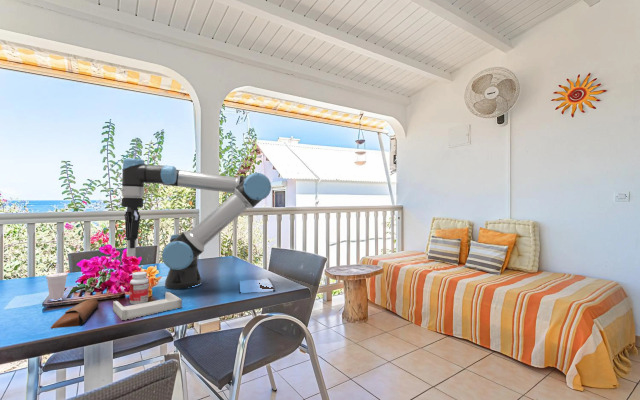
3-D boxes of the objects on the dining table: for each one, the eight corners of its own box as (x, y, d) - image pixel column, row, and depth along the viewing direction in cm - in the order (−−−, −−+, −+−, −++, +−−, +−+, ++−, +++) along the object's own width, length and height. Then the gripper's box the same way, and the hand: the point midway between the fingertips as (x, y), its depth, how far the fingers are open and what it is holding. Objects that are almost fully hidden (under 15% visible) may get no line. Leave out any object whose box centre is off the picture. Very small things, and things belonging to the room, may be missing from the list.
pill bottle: (132, 300, 121) (133, 271, 121) (150, 299, 123) (150, 270, 123) (127, 305, 115) (127, 275, 115) (145, 304, 117) (146, 274, 117)
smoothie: (54, 303, 116) (55, 265, 116) (40, 302, 117) (41, 264, 118) (71, 298, 122) (72, 262, 123) (58, 297, 124) (59, 261, 124)
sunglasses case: (69, 309, 110) (81, 292, 111) (90, 318, 112) (102, 300, 113) (48, 329, 93) (63, 308, 94) (73, 338, 95) (87, 318, 97)
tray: (168, 299, 123) (168, 291, 123) (181, 308, 114) (181, 299, 114) (113, 310, 110) (113, 301, 110) (122, 320, 101) (123, 311, 101)
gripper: (117, 197, 129) (116, 254, 129) (126, 197, 120) (124, 259, 120) (138, 197, 135) (136, 253, 134) (148, 197, 125) (146, 257, 125)
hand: (131, 256), depth 127 cm, fingers closed
